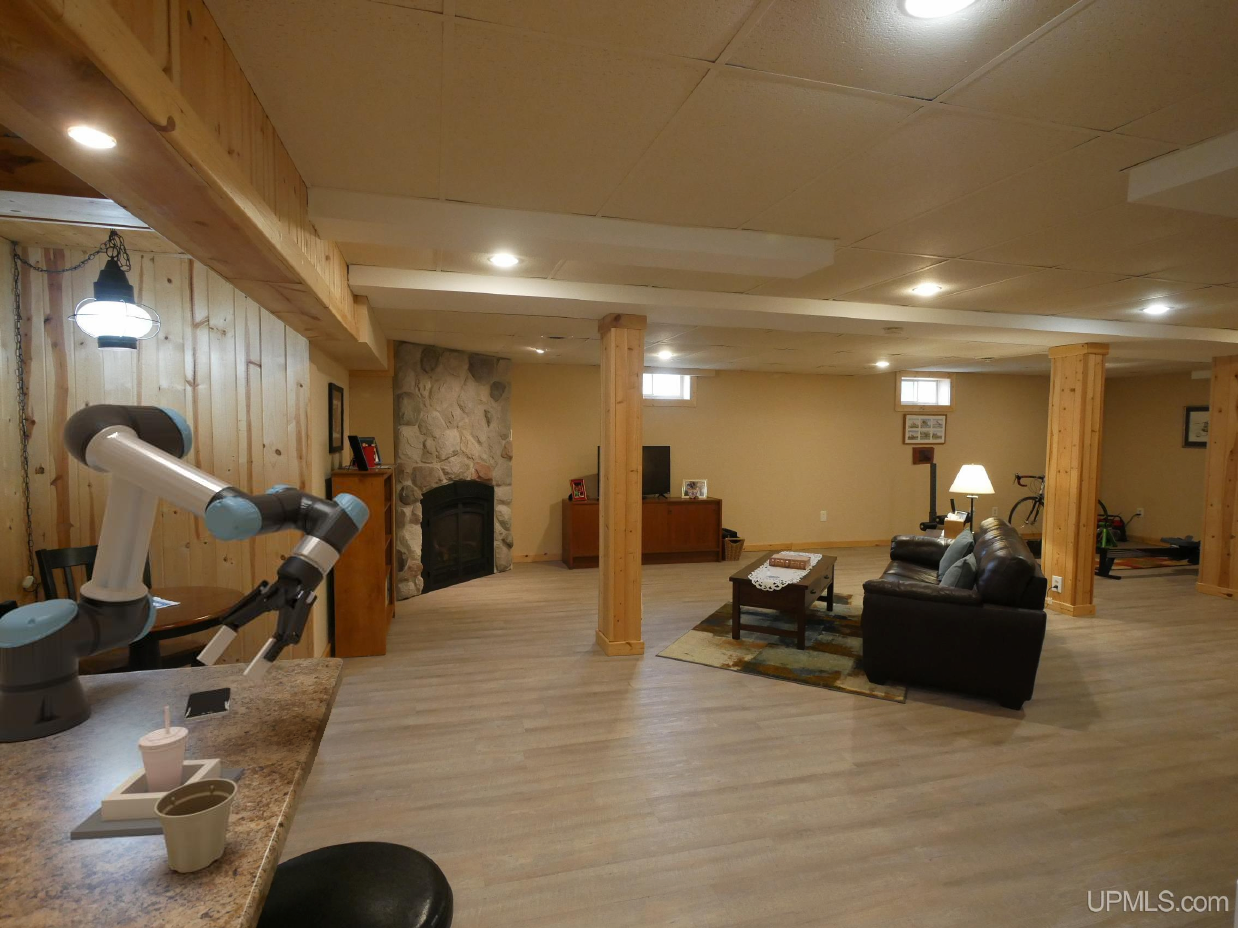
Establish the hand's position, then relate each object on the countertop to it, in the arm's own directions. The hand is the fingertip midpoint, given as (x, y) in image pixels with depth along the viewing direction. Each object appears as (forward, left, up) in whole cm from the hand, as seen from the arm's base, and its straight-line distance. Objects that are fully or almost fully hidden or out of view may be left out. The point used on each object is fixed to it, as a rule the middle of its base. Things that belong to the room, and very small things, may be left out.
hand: (226, 670), depth 106 cm
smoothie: (+8, -6, -17) cm, 20 cm away
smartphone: (-29, -18, -19) cm, 39 cm away
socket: (+8, -6, -18) cm, 20 cm away
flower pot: (+22, +6, -18) cm, 29 cm away
